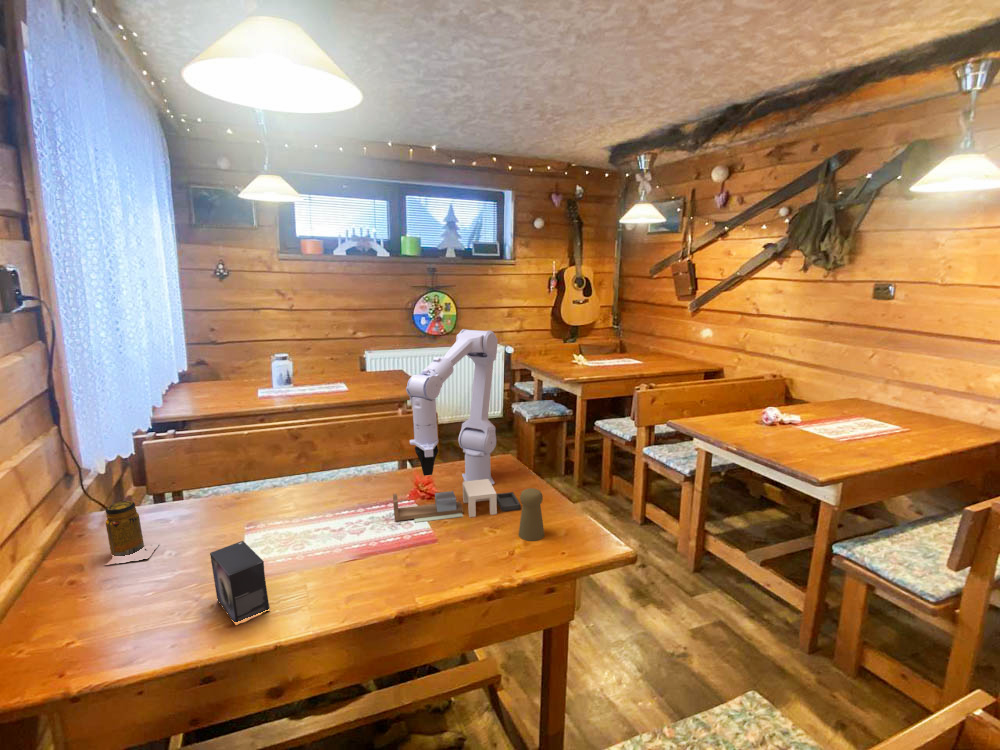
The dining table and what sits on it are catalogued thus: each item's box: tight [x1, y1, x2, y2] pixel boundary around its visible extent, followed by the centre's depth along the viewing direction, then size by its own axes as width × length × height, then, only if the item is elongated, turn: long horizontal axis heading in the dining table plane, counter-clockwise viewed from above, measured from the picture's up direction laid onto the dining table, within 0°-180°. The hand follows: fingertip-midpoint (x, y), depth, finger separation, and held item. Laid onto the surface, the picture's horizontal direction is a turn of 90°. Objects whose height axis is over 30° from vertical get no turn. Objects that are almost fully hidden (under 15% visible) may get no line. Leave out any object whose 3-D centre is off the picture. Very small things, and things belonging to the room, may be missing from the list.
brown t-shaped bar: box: [392, 490, 464, 522], centre depth 136 cm, size 5×17×5 cm, turn 103°
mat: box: [413, 513, 464, 523], centre depth 137 cm, size 8×12×1 cm, turn 103°
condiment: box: [105, 500, 145, 556], centre depth 118 cm, size 7×8×12 cm
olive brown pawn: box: [518, 487, 545, 542], centre depth 124 cm, size 6×6×11 cm
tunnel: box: [462, 479, 498, 518], centre depth 139 cm, size 10×7×6 cm
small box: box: [209, 540, 271, 622], centre depth 100 cm, size 11×6×10 cm, turn 45°
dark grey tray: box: [496, 491, 522, 513], centre depth 141 cm, size 8×5×1 cm, turn 13°
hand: (427, 474), depth 135 cm, fingers closed
